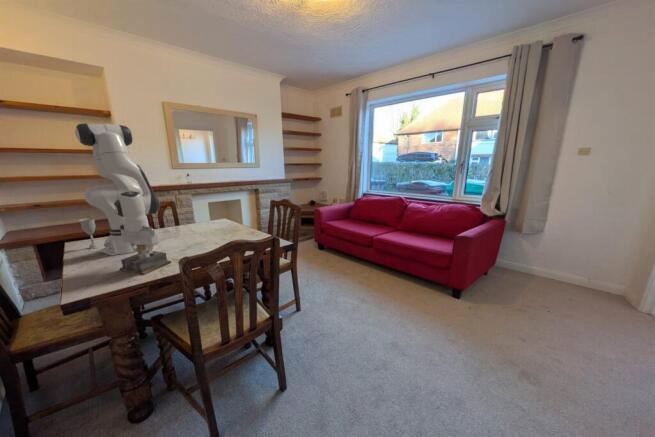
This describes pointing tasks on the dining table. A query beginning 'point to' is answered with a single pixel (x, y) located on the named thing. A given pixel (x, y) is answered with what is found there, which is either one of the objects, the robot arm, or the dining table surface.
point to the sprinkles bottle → (142, 250)
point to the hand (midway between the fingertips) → (143, 252)
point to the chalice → (89, 229)
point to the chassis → (144, 263)
